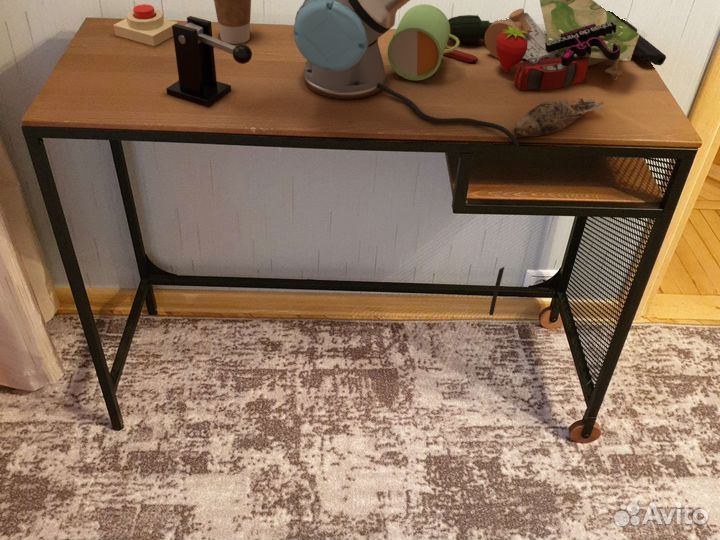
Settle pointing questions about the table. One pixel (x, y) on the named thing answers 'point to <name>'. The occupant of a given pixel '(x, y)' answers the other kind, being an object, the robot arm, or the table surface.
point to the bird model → (552, 117)
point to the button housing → (145, 28)
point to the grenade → (468, 28)
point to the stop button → (144, 11)
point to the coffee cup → (233, 20)
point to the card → (576, 10)
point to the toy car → (549, 73)
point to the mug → (420, 42)
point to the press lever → (224, 45)
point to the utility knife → (461, 55)
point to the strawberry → (511, 47)
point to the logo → (583, 48)
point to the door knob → (503, 24)
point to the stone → (536, 42)
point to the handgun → (645, 48)
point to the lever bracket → (196, 66)
